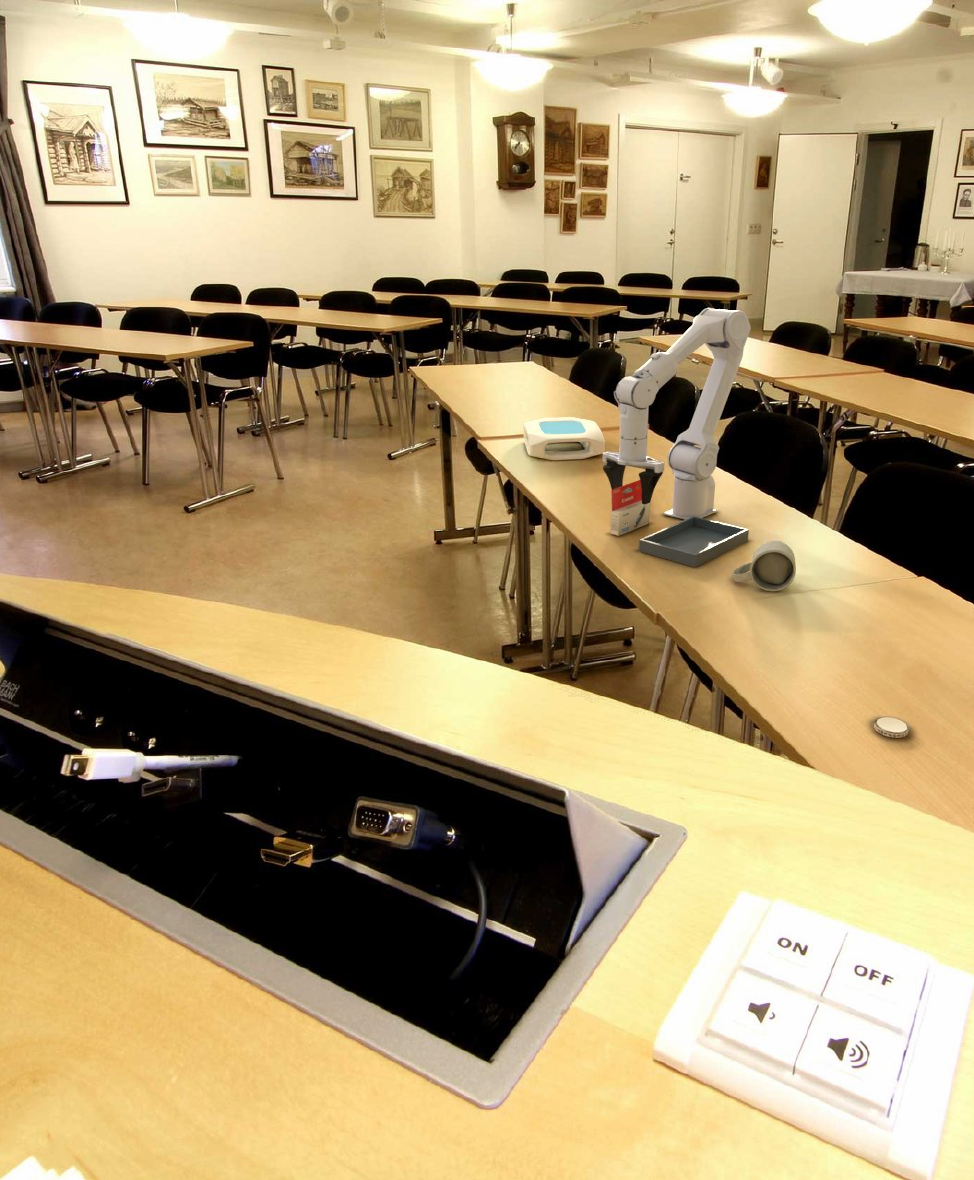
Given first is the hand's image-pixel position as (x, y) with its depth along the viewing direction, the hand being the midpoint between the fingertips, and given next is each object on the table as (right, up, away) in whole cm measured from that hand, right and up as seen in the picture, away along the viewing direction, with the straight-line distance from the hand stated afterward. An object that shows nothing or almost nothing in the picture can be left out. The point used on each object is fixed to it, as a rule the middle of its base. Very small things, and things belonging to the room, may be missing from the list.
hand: (631, 499), depth 178 cm
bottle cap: (+21, -37, -71) cm, 83 cm away
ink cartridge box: (0, -6, +3) cm, 7 cm away
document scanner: (-9, +23, +70) cm, 74 cm away
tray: (+11, -10, -8) cm, 17 cm away
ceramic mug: (+19, -18, -27) cm, 38 cm away
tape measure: (+3, +1, +18) cm, 18 cm away
